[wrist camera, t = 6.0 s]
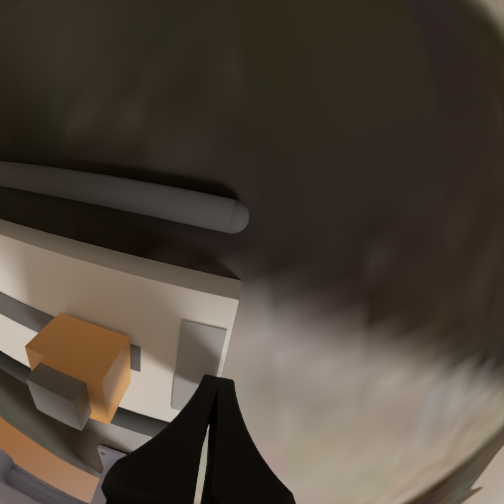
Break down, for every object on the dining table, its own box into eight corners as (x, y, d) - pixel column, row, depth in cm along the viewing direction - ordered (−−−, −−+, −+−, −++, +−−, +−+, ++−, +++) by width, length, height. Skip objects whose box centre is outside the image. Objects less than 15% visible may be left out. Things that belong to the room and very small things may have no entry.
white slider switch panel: (212, 407, 16) (207, 432, 14) (-31, 309, 15) (-45, 320, 13) (241, 280, 14) (238, 301, 12) (-44, 205, 13) (-63, 211, 11)
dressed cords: (200, 437, 18) (198, 451, 16) (-19, 344, 16) (-28, 352, 15) (253, 201, 13) (252, 206, 11) (-41, 156, 12) (-54, 158, 10)
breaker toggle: (130, 381, 13) (100, 444, 9) (67, 357, 13) (27, 408, 9) (130, 336, 12) (89, 401, 8) (60, 312, 12) (9, 361, 8)
